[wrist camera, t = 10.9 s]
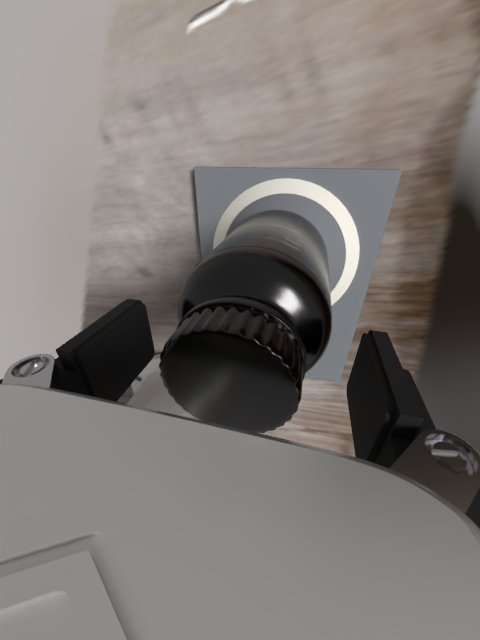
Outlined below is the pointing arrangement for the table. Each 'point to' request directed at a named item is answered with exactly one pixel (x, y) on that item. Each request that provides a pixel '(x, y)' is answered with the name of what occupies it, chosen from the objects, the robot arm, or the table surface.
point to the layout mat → (324, 213)
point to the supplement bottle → (251, 324)
